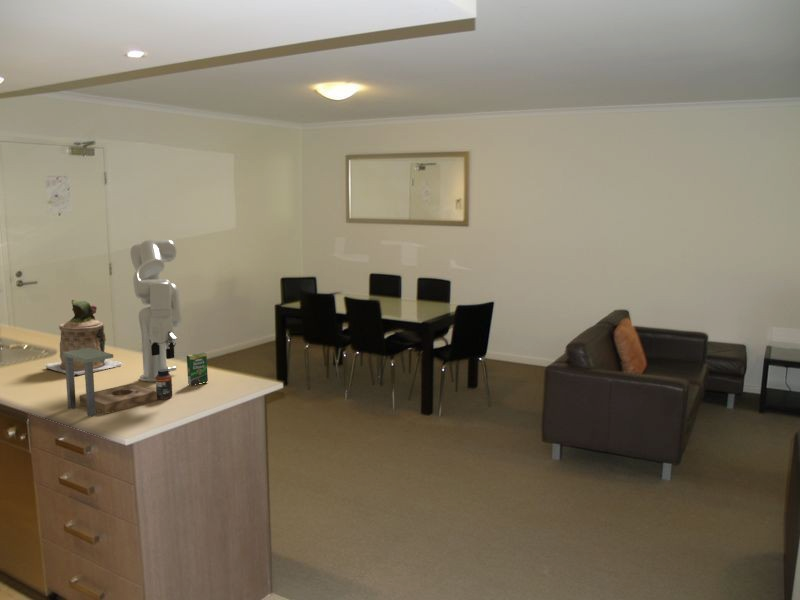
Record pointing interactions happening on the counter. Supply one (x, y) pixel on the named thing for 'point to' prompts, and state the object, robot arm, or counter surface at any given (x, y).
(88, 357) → the small grey stool
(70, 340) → the cookie jar
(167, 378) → the supplement bottle
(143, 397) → the socket block
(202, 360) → the coffee box
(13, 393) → the counter surface
